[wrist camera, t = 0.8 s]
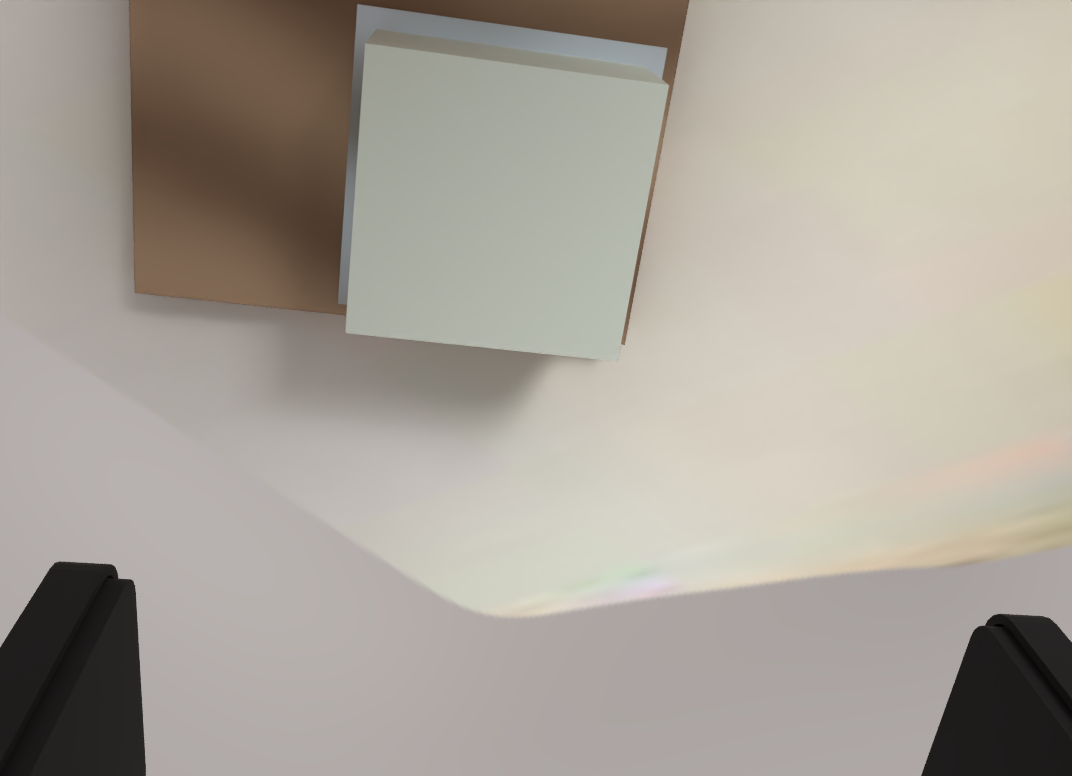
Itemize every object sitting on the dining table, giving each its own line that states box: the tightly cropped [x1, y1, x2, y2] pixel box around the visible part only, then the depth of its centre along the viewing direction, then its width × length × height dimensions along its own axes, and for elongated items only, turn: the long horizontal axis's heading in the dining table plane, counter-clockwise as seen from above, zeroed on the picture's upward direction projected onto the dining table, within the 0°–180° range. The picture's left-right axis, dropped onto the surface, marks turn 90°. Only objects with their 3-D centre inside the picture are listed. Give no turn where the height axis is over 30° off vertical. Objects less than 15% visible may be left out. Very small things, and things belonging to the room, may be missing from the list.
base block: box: [345, 29, 669, 362], centre depth 30 cm, size 8×8×4 cm
